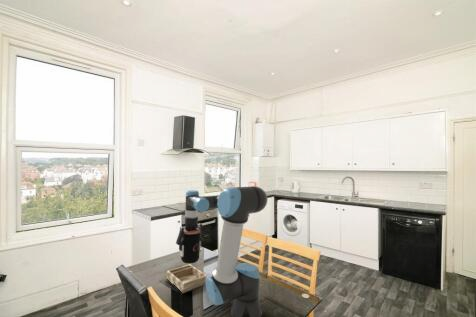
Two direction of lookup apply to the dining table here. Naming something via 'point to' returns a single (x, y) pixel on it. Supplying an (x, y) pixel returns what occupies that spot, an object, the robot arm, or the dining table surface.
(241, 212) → the robot arm
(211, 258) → the dining table surface
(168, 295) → the dining table surface
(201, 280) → the walled box
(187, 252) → the coffee jar
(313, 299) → the dining table surface
